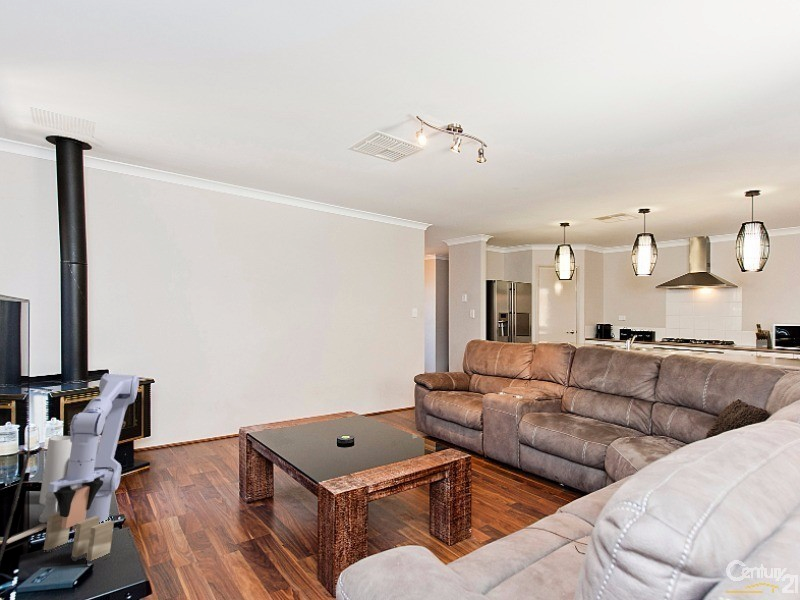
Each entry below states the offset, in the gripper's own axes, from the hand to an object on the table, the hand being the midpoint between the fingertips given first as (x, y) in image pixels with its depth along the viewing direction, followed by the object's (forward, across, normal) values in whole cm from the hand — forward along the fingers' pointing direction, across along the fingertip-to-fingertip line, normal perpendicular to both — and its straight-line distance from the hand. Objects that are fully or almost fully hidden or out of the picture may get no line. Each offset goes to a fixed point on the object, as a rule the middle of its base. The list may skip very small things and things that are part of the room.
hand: (74, 512), depth 117 cm
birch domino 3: (+10, 0, -10) cm, 14 cm away
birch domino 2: (+10, 0, -5) cm, 11 cm away
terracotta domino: (+3, 0, 0) cm, 3 cm away
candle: (+10, +22, +35) cm, 42 cm away
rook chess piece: (+10, +10, +23) cm, 27 cm away
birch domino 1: (+10, 0, +5) cm, 11 cm away
